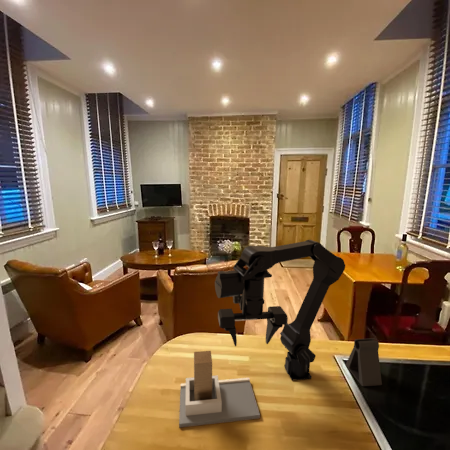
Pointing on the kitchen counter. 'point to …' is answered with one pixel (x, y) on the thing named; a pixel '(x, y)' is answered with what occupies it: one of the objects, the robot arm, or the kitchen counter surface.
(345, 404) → the kitchen counter surface
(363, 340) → the phone stand
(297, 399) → the kitchen counter surface
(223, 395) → the grey socket base
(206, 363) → the bar
